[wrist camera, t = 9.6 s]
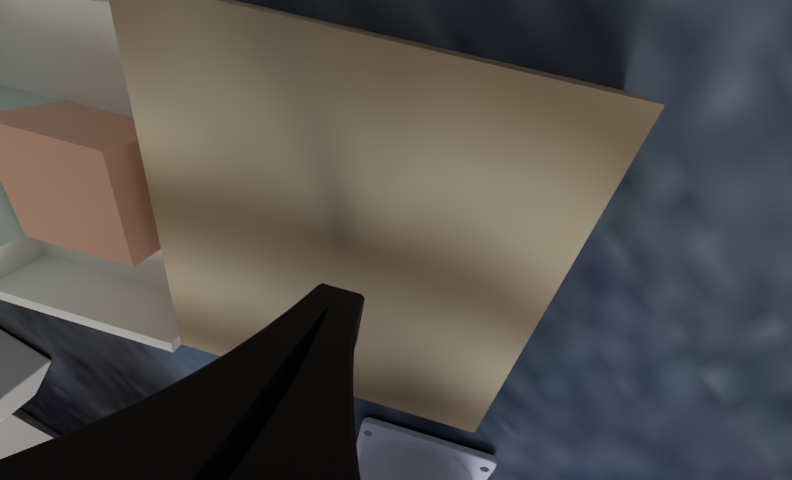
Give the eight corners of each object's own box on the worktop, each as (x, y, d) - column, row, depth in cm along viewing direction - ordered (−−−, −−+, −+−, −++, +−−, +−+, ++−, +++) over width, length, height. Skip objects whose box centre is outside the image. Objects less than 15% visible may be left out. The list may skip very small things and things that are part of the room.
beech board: (474, 384, 17) (474, 433, 15) (214, 308, 18) (181, 344, 16) (624, 90, 10) (664, 104, 8) (175, -14, 11) (103, -26, 9)
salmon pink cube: (189, 229, 15) (133, 267, 13) (97, 203, 16) (25, 235, 13) (174, 128, 13) (102, 151, 10) (66, 100, 13) (-30, 115, 11)
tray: (214, 308, 18) (156, 370, 15) (45, 258, 19) (-49, 306, 16) (175, -14, 11) (39, -37, 7) (-103, -79, 11) (-343, -127, 8)
